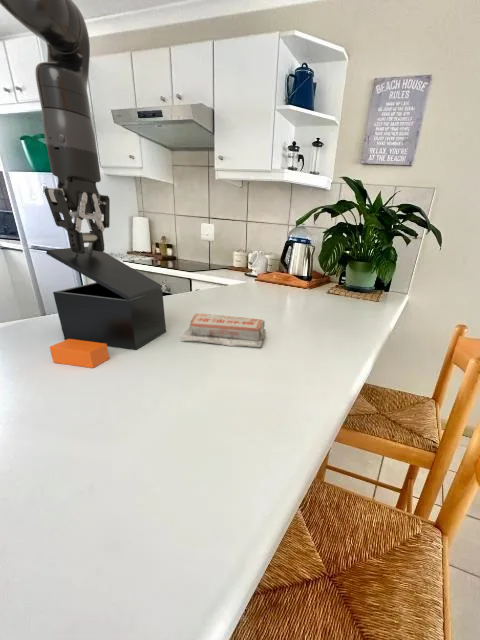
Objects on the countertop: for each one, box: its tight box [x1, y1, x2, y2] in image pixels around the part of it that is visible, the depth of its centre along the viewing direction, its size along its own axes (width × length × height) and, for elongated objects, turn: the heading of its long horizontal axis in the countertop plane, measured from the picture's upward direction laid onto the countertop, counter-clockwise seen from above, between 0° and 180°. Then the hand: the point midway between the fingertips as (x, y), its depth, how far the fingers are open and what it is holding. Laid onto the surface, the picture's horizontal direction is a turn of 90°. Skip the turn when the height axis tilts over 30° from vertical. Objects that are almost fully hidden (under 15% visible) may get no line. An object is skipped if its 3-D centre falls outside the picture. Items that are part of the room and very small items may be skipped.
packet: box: [49, 339, 110, 369], centre depth 58 cm, size 8×4×3 cm, turn 82°
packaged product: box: [180, 313, 267, 348], centre depth 74 cm, size 18×5×10 cm
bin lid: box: [45, 231, 163, 300], centre depth 64 cm, size 16×13×5 cm
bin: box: [52, 281, 167, 351], centre depth 69 cm, size 16×13×10 cm
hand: (89, 251), depth 64 cm, fingers closed on bin lid, 5 cm apart
